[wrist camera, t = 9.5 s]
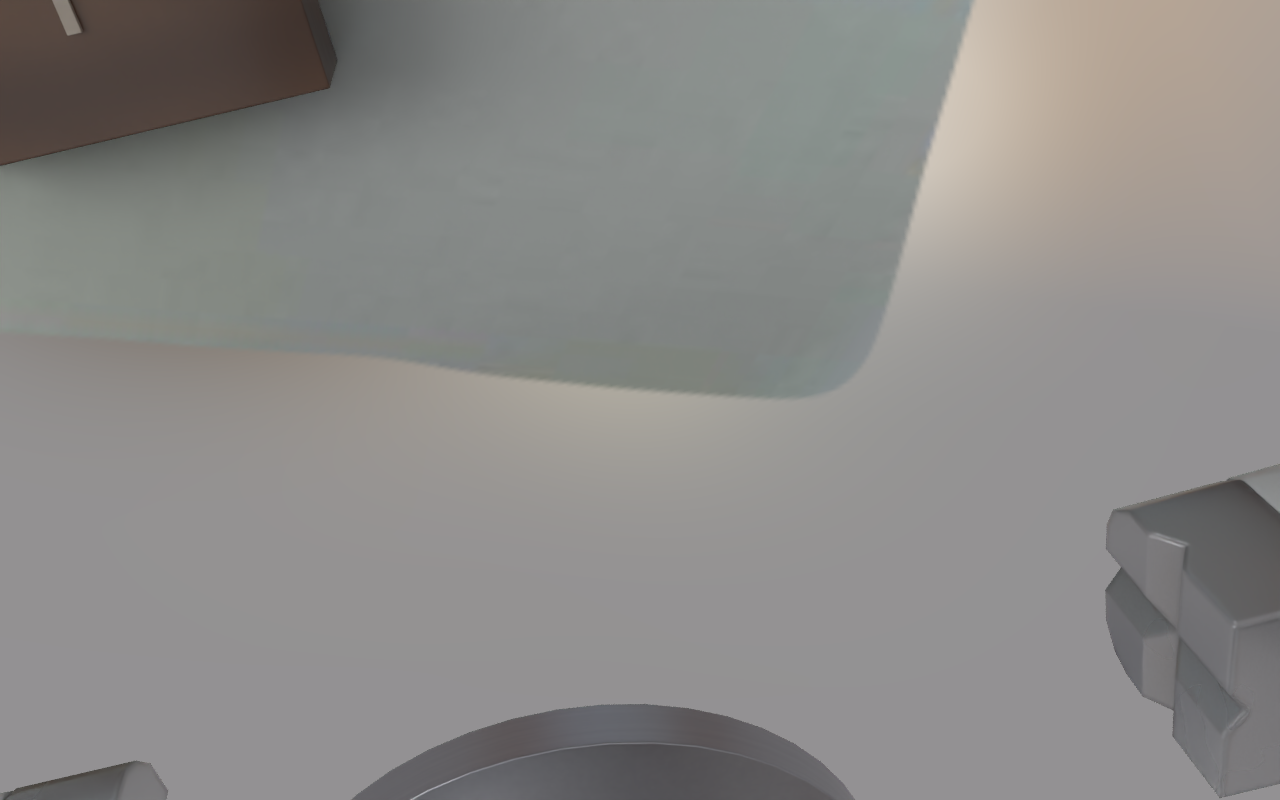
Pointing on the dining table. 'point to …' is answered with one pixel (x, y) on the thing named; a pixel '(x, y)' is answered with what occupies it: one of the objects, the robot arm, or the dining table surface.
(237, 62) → the panel
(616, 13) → the dining table surface
